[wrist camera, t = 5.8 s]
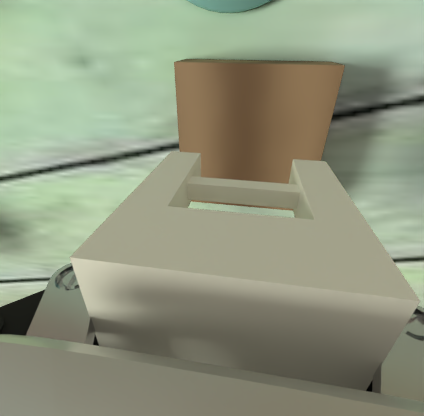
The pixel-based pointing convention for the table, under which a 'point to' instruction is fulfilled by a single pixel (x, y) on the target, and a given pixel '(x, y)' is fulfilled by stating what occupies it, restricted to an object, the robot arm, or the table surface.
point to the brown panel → (254, 115)
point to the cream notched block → (245, 276)
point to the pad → (228, 5)
